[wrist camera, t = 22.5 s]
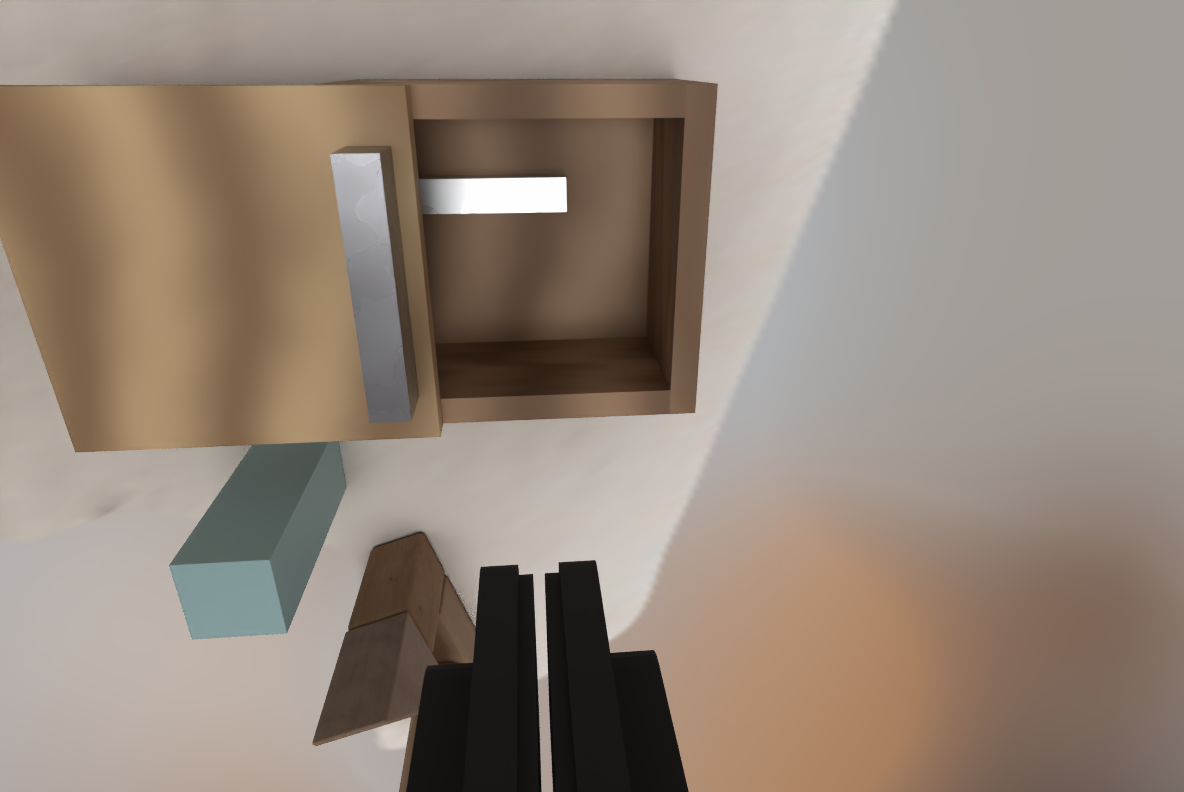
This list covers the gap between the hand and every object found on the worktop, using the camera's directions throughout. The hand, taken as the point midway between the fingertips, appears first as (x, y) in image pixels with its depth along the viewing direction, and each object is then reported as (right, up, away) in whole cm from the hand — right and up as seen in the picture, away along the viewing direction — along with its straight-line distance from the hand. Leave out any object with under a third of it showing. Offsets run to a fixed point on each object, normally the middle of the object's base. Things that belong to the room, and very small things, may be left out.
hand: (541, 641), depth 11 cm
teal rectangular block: (-16, 0, +31) cm, 34 cm away
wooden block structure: (-10, -10, +36) cm, 39 cm away
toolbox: (-3, +12, +26) cm, 29 cm away
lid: (-13, +8, +18) cm, 24 cm away
